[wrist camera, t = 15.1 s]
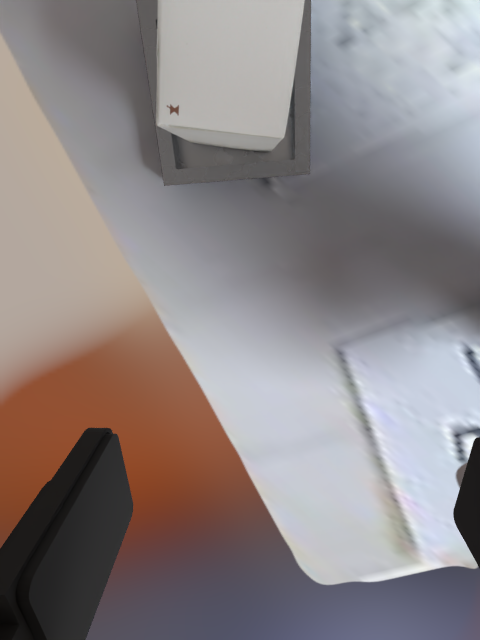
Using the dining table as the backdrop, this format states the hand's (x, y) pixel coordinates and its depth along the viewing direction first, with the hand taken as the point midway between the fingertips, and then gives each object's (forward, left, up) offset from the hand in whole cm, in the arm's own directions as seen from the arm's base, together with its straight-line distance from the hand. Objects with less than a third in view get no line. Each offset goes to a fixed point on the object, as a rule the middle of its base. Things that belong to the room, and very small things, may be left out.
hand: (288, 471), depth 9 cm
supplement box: (+2, -13, -27) cm, 30 cm away
